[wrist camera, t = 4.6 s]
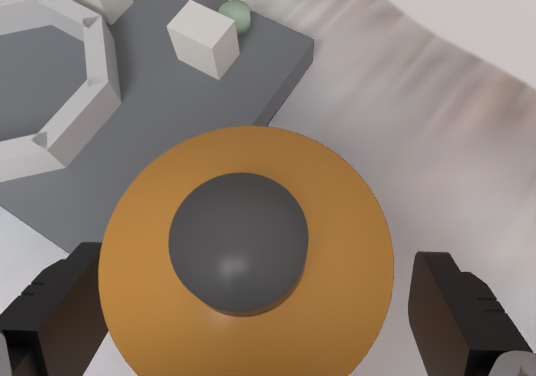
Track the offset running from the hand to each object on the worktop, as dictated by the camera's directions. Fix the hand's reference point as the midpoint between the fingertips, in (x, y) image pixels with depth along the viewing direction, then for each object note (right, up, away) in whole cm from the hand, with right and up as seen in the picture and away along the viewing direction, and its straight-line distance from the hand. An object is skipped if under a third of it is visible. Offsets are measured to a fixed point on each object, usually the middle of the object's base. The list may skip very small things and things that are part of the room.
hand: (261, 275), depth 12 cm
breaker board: (-9, +8, +9) cm, 15 cm away
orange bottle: (0, -3, +5) cm, 5 cm away
